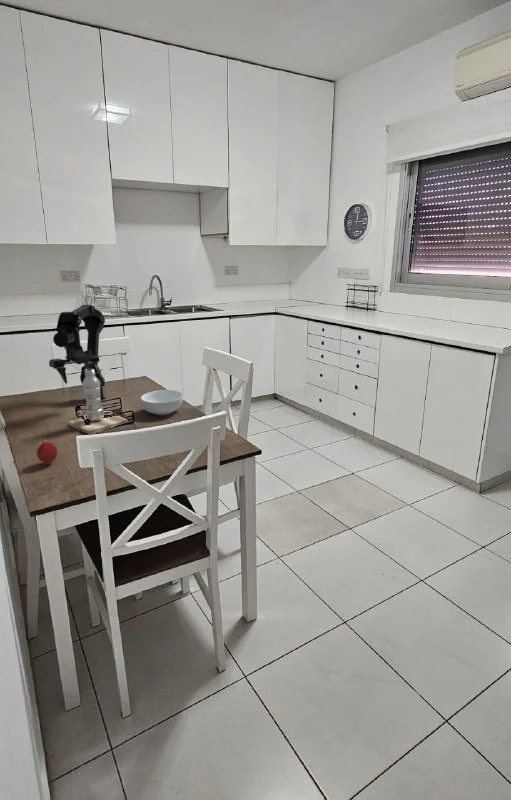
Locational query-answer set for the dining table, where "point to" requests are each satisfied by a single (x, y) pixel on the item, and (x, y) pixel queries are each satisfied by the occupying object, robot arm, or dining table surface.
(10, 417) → the dining table surface
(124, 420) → the birch board
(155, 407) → the cereal bowl
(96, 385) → the plastic bottle
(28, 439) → the dining table surface
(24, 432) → the dining table surface
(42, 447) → the onion
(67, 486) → the dining table surface
